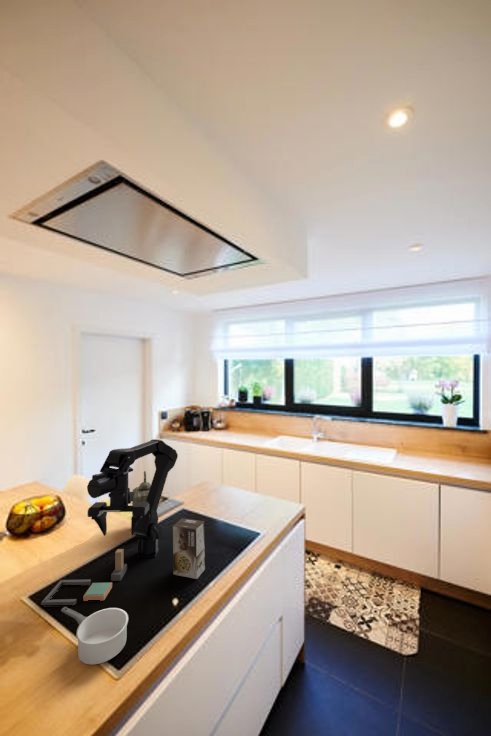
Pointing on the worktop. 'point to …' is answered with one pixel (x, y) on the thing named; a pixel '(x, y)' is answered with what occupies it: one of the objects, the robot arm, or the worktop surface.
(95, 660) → the saucepan
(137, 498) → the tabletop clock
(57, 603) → the corral
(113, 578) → the pusher
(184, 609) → the worktop surface
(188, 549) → the coffee box
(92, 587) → the tile
